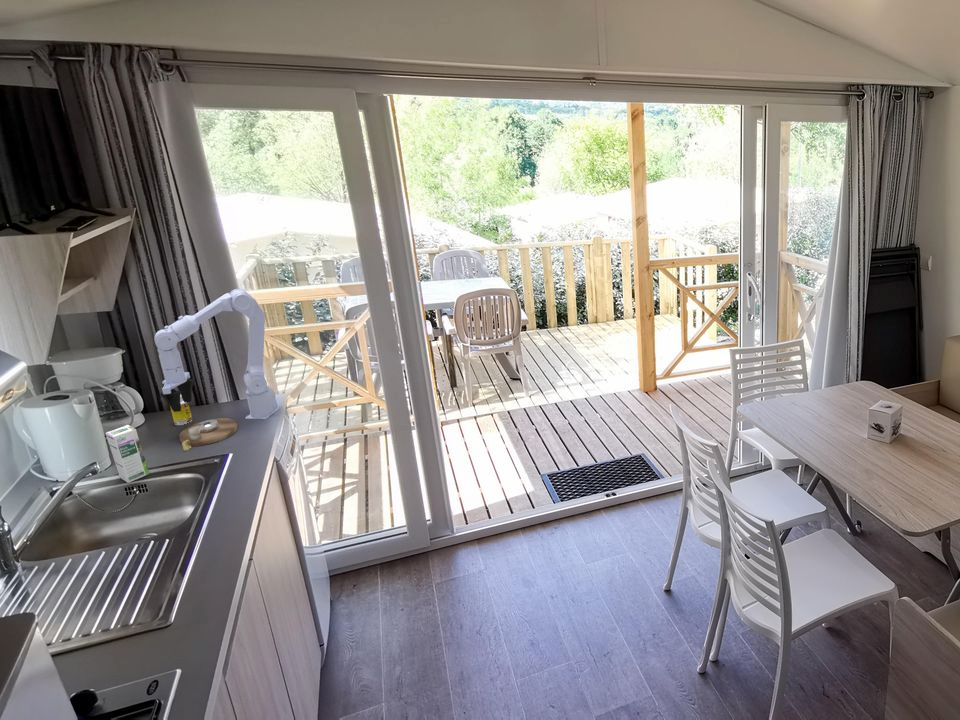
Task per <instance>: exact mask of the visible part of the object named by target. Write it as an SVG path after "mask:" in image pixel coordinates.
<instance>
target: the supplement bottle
mask: <svg viewBox="0 0 960 720" xmlns="http://www.w3.org/2000/svg"><path fill="white" fill-rule="evenodd" d="M180 403H181V411H178V412H174V411H173V410H172V408H171V407H170V406H169V407H170V412H171V414H172V415H171V416H172V418H173V419H172V420H173V423H174V425H175V426H184V424H185V425H187V423H188V424H189V422H190V423H192V421H193V417H192V416H193V415H192V412H191V408H190V405H189V402H184V401H183V399H182V396H181V395H180Z"/></svg>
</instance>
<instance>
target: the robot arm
mask: <svg viewBox="0 0 960 720" xmlns="http://www.w3.org/2000/svg"><path fill="white" fill-rule="evenodd" d="M233 309H234V310H235V311H237V312H239V313H242V314H243V315H245V316H246V317H247V318H248V346H247V347H248V350H247V351H248V353H247V365H246V370H245V373H244V374H243V378H242V379H243V383H244V385H245V386H246V387H247V388H246V390H245V395H246V401H247V405H248V409H249V414H248V415H246V417H245V420H246V419H247V420H250V419H251V420H252V419H253V420H266V419H268V418H269V417H271V416H272V415H273V414H275V413H276V412H277V411H279V410H280V408H281V407H280V406H278V403H277V399H276V394H275V393H276V392H275V391H274V389H273V388H272V387H270V386H268V382H267V380H266V378H265V377H266V375H265V368H264V355H265V354H264V353H265V351H264V350H265V349H264V348H265V328H266V326H265V325H266V324H265V323H266V314H265V312H264V311H263V309H262V308H261V305H260V304H259V303H258V302H257V300H256V298H254V297H253V296H252V295H251V294H250V293H249V292H247V291H246V290H244V289H241V288H235V289H232V290H231V291H230V292H227V293H225V294H223V295H222V296H219V297H218V298H217V299H216V300H213V301H212V302H210V303H209V304H207V306H205V307H204V308H202V309H200V311H198V312H196V313H194V315H189V314H188V315H184V316H183V315H180V316H179V317H178V318H177V320H176V321H175V322H173V323H172V324H170V325H165V326H164V328H163V329H160V330H158V331H157V332H156V333H155V335H154V343H155V346H156V347H157V352H158V357H159V362H160V365H161V369H162V373H163V376H164V380H162V382H161V384H163V387H161V392H160V397H162V398H163V399H164V400H165V401H166V402H167V403H168V405H169V407H171V408H172V410H173V411H174V412H178V411H181V403H180V395H181V396H182V399H183V401H184V402H188V403H191V402H192V398H193V396H192V393H193V392H192V391H193V387H194V386H193V385H194V382H195V380H194V379H193V378H191V375H190V372H189V371H187V372H186V371H185V370H184V364H183V362H182V358H181V354H180V351H179V349H178V346H177V345H178V342H181V341H183V340H185V339H186V338H188V337H190V336H191V335H193V334H194V333H196V332H198V331H199V328H200V325H201V324H202V323H204V322H206V321H207V320H209V319H211V318H212V317H215V316H216V315H217V314H218V315H219V314H220V313H222V312H233V311H234V310H233ZM176 388H177V389H178V390H175V389H176ZM171 408H170V409H171Z"/></svg>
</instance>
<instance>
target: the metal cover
mask: <svg viewBox="0 0 960 720" xmlns="http://www.w3.org/2000/svg"><path fill="white" fill-rule="evenodd" d="M202 421H203V422H202ZM202 421H200V422H201V423H199V422H198V423H199V424H198V425H197V426H198V427H199V430H200V433H209V432H212V431H215V430H216V429H218V422H217V420H210V419H207V420H202Z"/></svg>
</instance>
